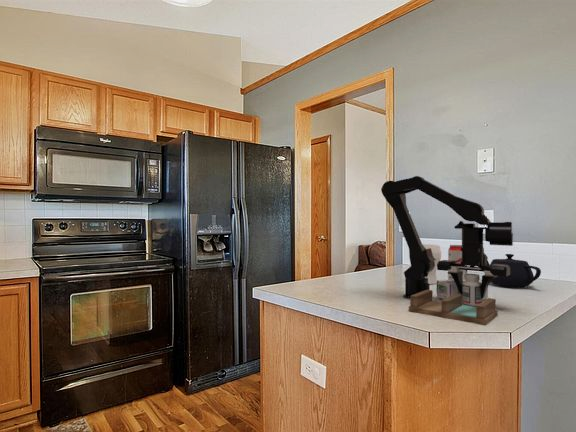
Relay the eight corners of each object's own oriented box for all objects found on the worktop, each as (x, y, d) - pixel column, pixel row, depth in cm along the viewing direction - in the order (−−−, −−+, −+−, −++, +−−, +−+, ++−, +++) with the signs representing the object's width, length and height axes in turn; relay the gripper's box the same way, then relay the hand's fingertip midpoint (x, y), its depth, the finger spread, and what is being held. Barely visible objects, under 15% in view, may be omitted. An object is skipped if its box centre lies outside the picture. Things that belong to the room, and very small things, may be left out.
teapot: (554, 290, 131) (554, 256, 131) (525, 292, 125) (525, 257, 125) (493, 279, 154) (493, 250, 154) (466, 281, 148) (466, 251, 148)
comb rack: (408, 310, 98) (408, 295, 98) (425, 303, 107) (425, 289, 107) (486, 325, 85) (486, 307, 85) (497, 315, 94) (497, 299, 94)
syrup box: (488, 281, 113) (447, 281, 110) (488, 300, 113) (447, 301, 110) (475, 278, 119) (436, 279, 116) (475, 296, 118) (436, 297, 115)
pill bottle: (481, 303, 108) (481, 273, 108) (482, 307, 103) (482, 276, 103) (462, 301, 110) (462, 272, 110) (462, 305, 105) (462, 274, 105)
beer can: (466, 292, 124) (466, 246, 124) (446, 290, 127) (446, 245, 127) (468, 289, 129) (468, 245, 129) (449, 287, 133) (449, 244, 133)
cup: (444, 285, 137) (444, 246, 137) (415, 284, 139) (415, 245, 139) (437, 280, 148) (437, 244, 148) (410, 279, 150) (410, 243, 150)
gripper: (514, 244, 107) (513, 297, 106) (448, 241, 119) (448, 288, 119) (506, 246, 98) (505, 303, 98) (436, 243, 111) (436, 293, 110)
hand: (472, 296), depth 107 cm, fingers closed on pill bottle, 5 cm apart
